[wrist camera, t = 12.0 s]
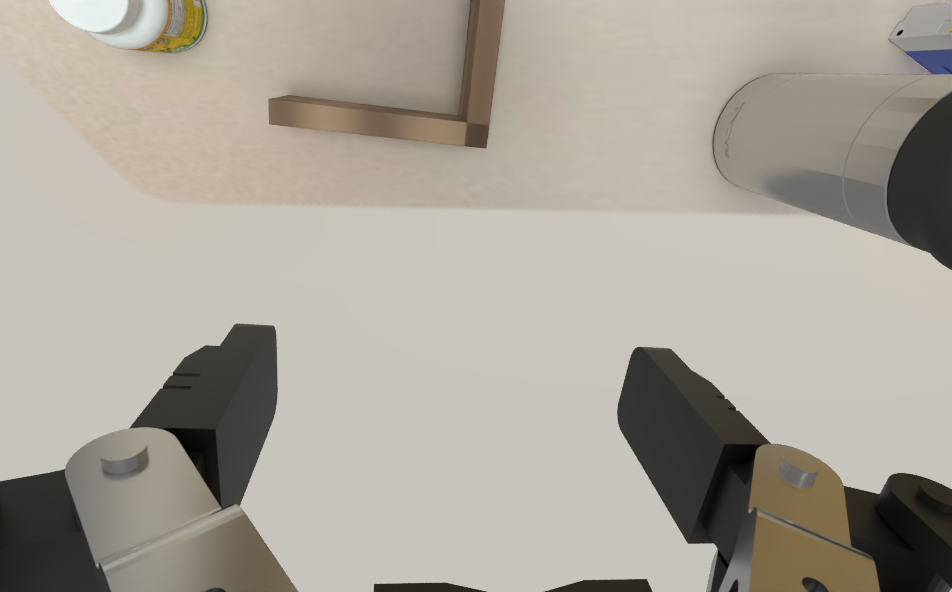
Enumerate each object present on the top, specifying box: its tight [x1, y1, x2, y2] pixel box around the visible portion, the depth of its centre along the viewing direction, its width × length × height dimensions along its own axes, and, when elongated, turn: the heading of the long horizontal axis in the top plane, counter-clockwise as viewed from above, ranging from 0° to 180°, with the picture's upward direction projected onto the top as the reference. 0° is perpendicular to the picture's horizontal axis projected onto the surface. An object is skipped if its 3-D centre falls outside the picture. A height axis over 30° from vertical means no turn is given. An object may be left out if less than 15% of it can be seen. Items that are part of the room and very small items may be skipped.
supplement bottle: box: [49, 0, 207, 53], centre depth 31 cm, size 5×5×10 cm
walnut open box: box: [269, 0, 505, 148], centre depth 35 cm, size 14×12×6 cm
